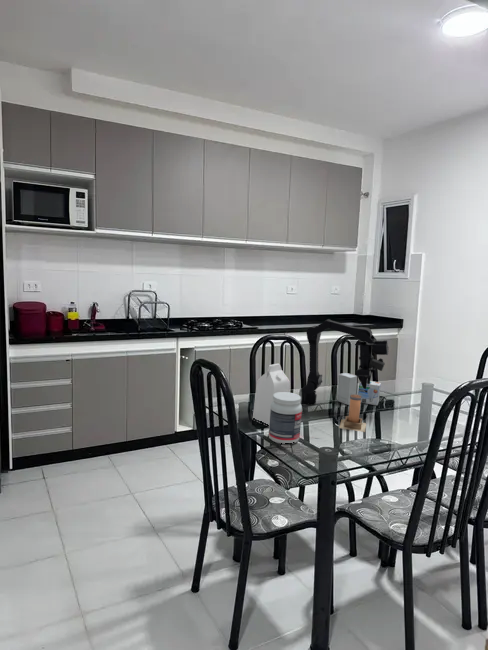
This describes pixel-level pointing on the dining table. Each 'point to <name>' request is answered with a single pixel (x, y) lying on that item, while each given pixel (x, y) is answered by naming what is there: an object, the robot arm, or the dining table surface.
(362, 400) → the light bulb box
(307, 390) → the robot arm
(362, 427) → the square wooden holder
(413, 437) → the dining table surface
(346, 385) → the skincare box
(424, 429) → the dining table surface
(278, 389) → the milk
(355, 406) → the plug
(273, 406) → the supplement tub
